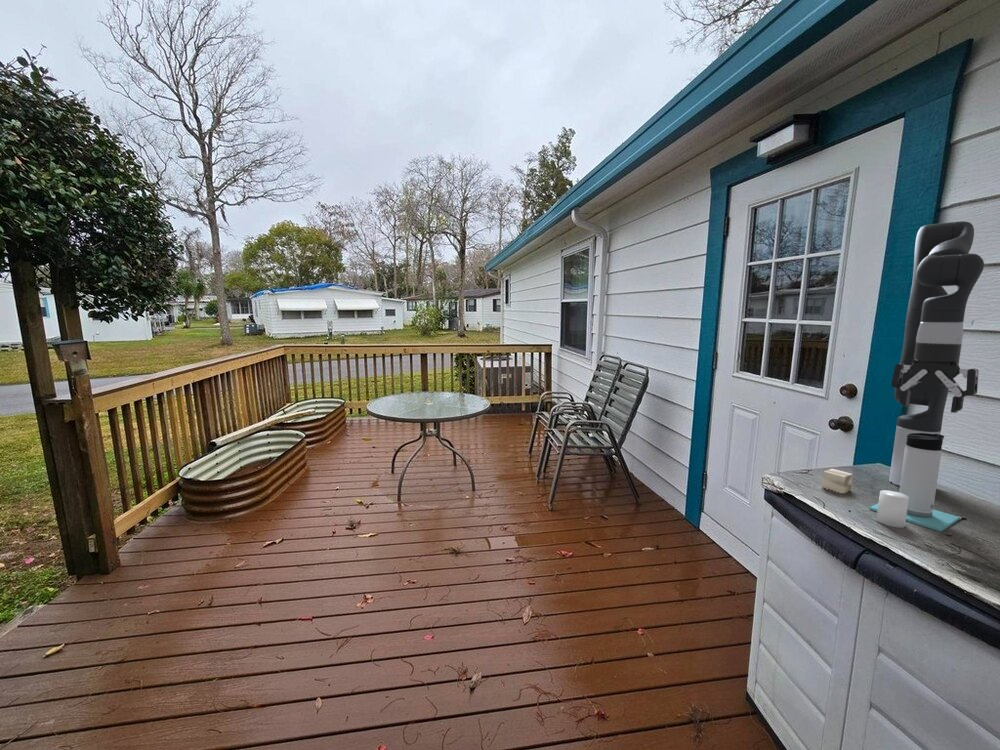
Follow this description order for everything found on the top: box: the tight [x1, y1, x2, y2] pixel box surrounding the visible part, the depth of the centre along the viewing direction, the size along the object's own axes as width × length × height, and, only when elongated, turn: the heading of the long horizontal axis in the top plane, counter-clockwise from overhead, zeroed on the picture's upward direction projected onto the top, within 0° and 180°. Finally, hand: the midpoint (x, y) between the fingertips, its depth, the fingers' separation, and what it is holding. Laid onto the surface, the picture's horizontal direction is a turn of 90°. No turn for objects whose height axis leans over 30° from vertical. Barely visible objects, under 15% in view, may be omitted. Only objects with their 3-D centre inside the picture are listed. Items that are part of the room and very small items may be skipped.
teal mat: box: [869, 503, 961, 533], centre depth 104 cm, size 13×13×1 cm
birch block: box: [821, 468, 854, 495], centre depth 120 cm, size 5×5×5 cm
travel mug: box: [898, 433, 945, 517], centre depth 103 cm, size 6×7×20 cm
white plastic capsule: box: [876, 489, 909, 529], centre depth 99 cm, size 5×5×7 cm
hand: (928, 408), depth 101 cm, fingers open, 8 cm apart
